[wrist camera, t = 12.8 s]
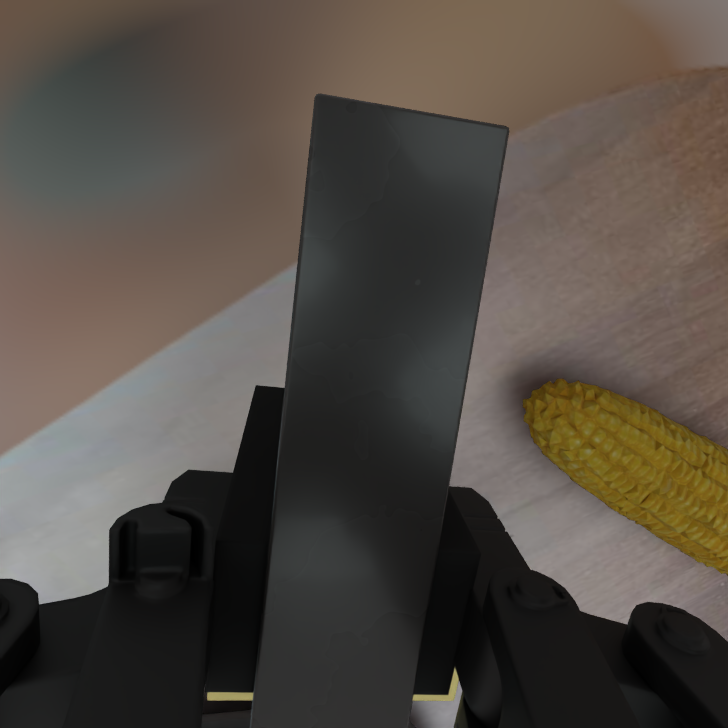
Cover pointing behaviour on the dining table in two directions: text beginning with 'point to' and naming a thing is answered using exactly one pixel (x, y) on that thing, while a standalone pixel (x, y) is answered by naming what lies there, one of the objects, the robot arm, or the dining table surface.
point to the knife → (371, 407)
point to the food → (637, 464)
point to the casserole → (234, 720)
